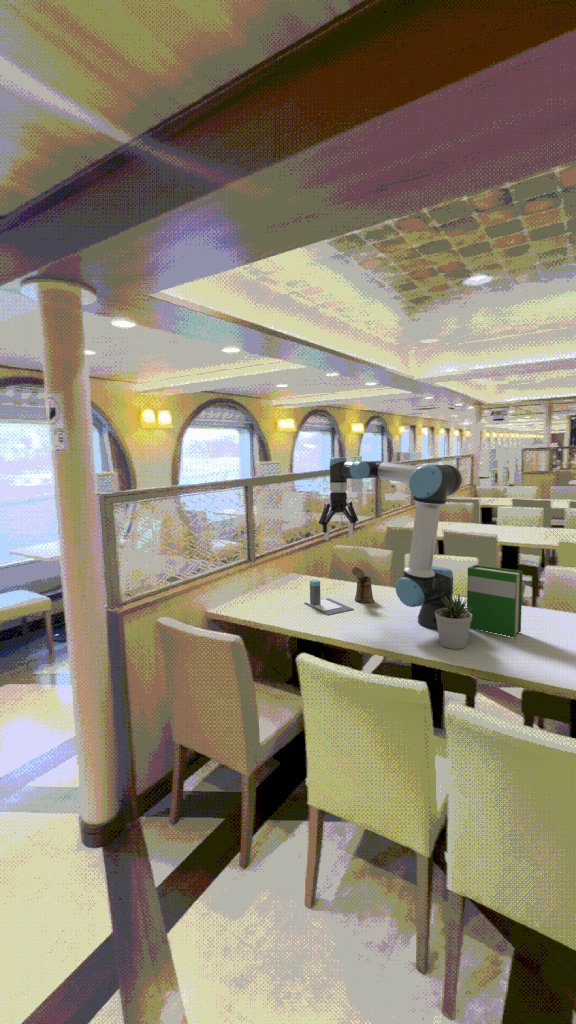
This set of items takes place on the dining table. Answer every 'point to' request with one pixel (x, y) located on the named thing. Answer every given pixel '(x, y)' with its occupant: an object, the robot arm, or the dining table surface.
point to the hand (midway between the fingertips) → (338, 538)
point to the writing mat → (329, 606)
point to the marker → (315, 592)
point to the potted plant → (453, 623)
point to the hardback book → (495, 599)
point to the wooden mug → (363, 587)
